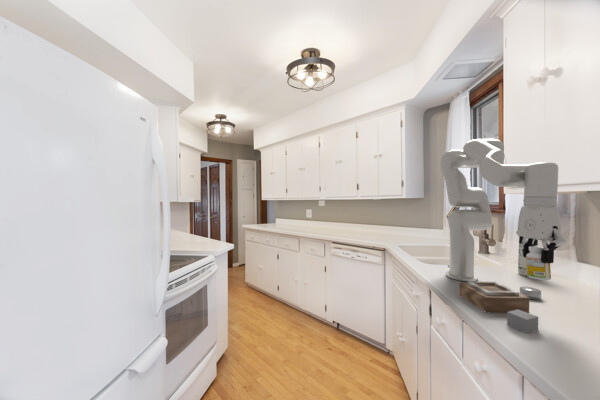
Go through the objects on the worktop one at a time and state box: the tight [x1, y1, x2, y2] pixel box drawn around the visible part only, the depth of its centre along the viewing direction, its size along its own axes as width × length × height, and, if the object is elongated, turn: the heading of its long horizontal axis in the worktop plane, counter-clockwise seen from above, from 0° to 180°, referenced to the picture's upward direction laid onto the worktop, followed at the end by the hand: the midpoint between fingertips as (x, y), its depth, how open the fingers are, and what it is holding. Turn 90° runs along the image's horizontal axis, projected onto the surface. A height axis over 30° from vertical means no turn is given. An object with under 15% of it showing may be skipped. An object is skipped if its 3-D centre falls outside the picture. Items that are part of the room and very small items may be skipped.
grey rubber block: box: [506, 309, 539, 334], centre depth 73 cm, size 5×5×4 cm
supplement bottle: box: [526, 246, 552, 281], centre depth 79 cm, size 5×5×10 cm
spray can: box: [517, 236, 539, 277], centre depth 120 cm, size 7×7×20 cm
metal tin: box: [519, 286, 542, 301], centre depth 95 cm, size 6×6×3 cm
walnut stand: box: [458, 281, 530, 314], centre depth 89 cm, size 14×14×6 cm
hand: (537, 259), depth 79 cm, fingers closed on supplement bottle, 5 cm apart
